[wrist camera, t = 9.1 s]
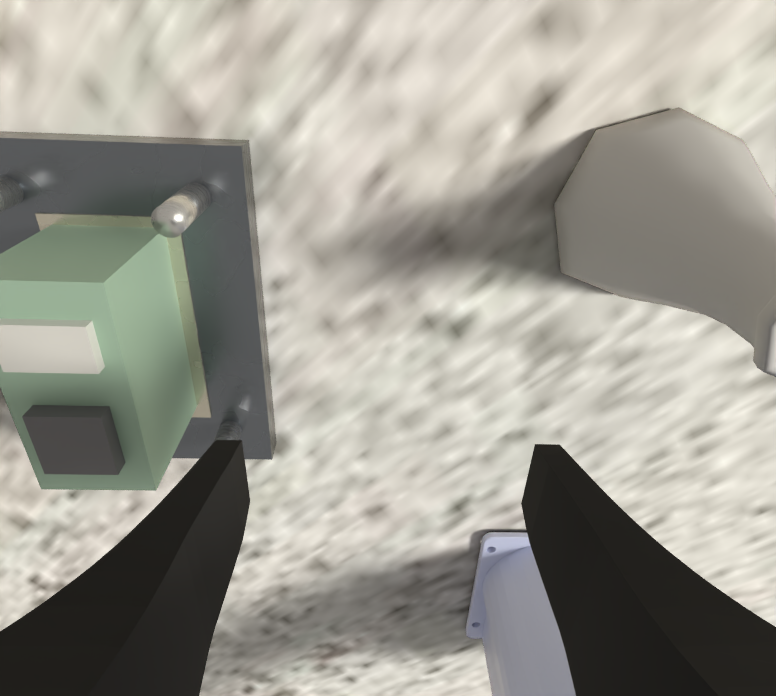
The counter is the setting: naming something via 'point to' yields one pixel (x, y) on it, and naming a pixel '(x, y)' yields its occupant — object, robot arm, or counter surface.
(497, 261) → the counter surface
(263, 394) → the chassis
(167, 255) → the module
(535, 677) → the robot arm
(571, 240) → the flask
